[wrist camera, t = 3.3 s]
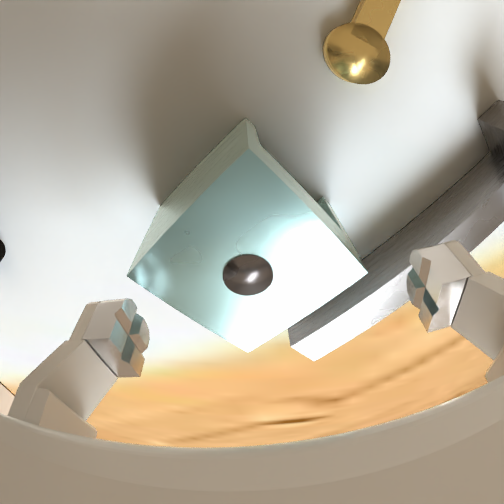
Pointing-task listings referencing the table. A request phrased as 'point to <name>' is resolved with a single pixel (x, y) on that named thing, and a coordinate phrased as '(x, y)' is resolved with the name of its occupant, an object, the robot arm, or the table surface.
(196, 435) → the table surface
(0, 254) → the decorative sign
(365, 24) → the gold ball-headed pin
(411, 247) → the grey t-shaped bar
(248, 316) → the green knobbed cube
